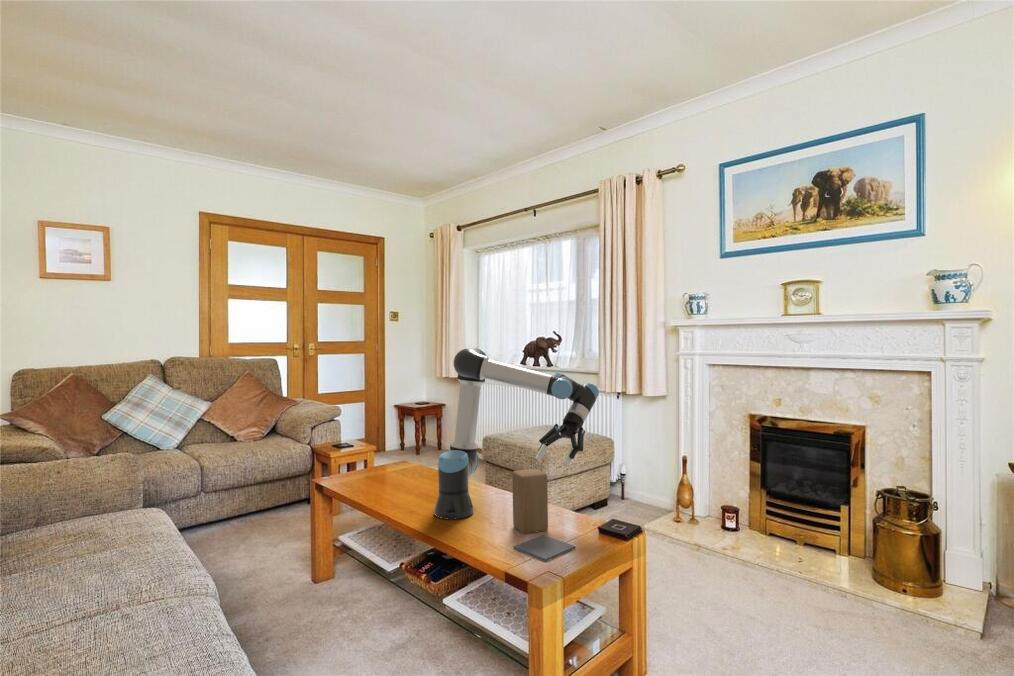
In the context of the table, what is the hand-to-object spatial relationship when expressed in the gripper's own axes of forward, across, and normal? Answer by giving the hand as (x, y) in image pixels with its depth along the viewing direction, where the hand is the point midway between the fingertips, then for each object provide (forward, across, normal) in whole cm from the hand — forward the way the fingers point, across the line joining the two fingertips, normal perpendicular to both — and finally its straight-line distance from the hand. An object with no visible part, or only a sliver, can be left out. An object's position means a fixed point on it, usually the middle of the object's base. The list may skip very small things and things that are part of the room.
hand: (550, 462), depth 189 cm
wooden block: (+23, 0, -7) cm, 25 cm away
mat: (+30, -16, 0) cm, 34 cm away
